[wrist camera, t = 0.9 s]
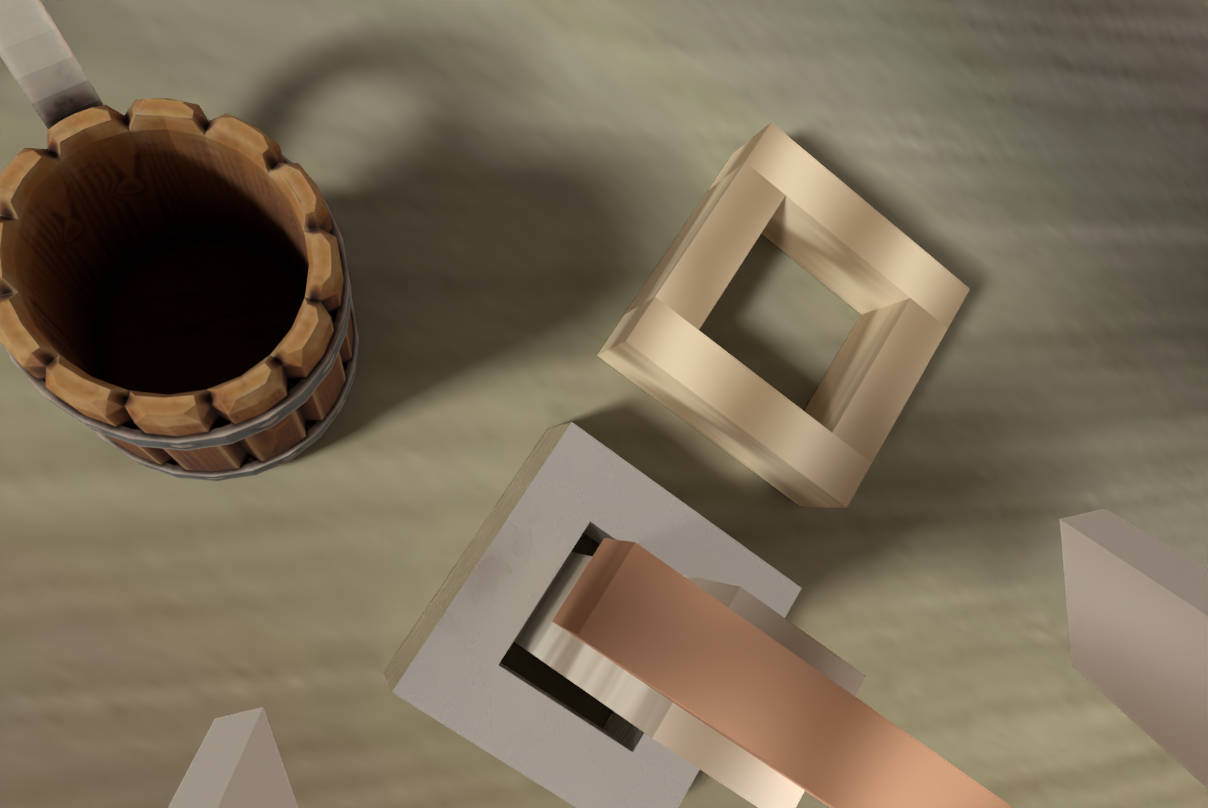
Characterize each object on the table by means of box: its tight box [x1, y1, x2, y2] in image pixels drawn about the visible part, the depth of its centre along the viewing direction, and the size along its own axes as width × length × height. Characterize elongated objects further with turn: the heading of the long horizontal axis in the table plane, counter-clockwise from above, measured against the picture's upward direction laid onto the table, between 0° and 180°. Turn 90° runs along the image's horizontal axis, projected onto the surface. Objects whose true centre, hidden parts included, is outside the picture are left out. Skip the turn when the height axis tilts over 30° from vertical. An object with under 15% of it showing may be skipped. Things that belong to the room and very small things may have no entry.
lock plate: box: [384, 422, 802, 808], centre depth 39 cm, size 12×12×4 cm
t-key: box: [514, 538, 1013, 808], centre depth 31 cm, size 12×4×19 cm, turn 56°
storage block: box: [597, 122, 970, 508], centre depth 43 cm, size 12×12×4 cm
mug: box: [0, 0, 359, 481], centre depth 30 cm, size 16×11×15 cm
